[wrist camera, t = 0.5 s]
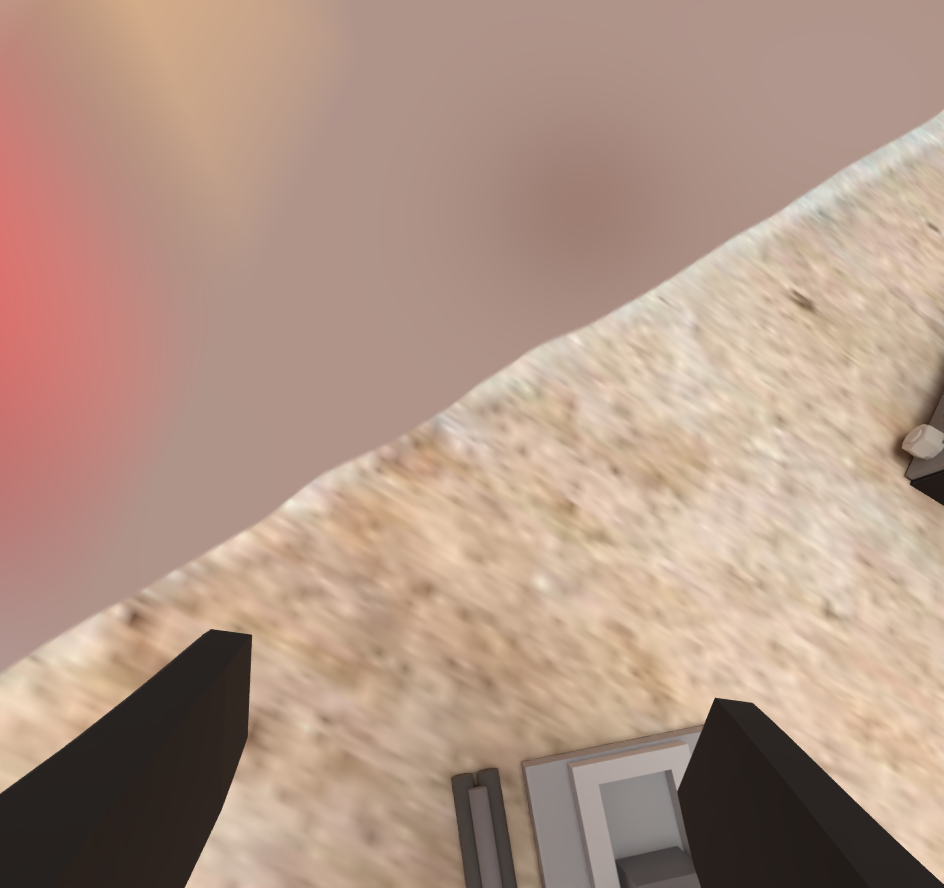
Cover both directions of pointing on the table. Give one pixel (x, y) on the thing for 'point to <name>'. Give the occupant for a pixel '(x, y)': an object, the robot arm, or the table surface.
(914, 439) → the electrical component
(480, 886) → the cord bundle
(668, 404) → the table surface
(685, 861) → the breaker slider
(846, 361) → the table surface
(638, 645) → the table surface
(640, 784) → the breaker panel
